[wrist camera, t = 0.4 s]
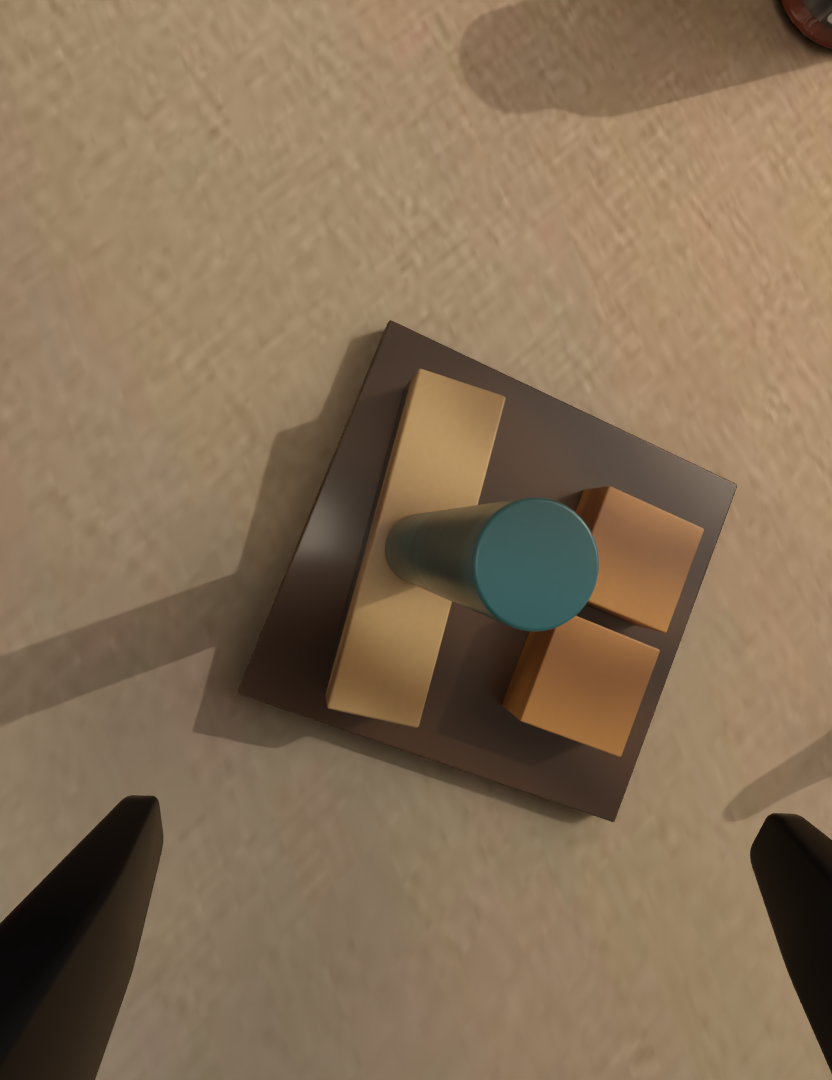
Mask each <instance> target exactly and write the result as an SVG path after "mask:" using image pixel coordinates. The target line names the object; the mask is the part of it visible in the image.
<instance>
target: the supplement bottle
mask: <svg viewBox="0 0 832 1080" xmlns="http://www.w3.org/2000/svg"><path fill="white" fill-rule="evenodd" d="M781 1H782V3H783V6H784V9H785V10H786V13H787V15H788V16H789V17H790V18H791V20H792V23H793V24H794V25H795V26H796V27H797V28H798V29H799V30H800V31H801V32H802V33H803V34H804V35H805V36H807V37H808V38H809V39H811V40H812V41H814V42H816V43H817V44H819V45H822V46H824V47H826V48H830V49H832V0H781Z"/></svg>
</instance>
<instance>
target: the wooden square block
mask: <svg viewBox="0 0 832 1080" xmlns="http://www.w3.org/2000/svg"><path fill="white" fill-rule="evenodd" d="M576 513H577V514H578V515H579V516H580V517H581V518H582V519H583V521H584V522H585V523H586V524H587V526H588V528H589V529H590V531H591V533H592V535H593V537H594V539H595V543H596V546H597V550H598V557H599V570H598V577H597V582H596V585H595V588H594V591H593V593H592V595H591V597H590V599H589V600H588V602H587V603H586V605H587V606H590V607H592V608H595V609H597V610H600V611H602V612H604V613H607V614H609V615H612V616H614V617H617V618H619V619H621V620H624V621H626V622H629V623H631V624H634V625H636V626H640V627H643V628H647V629H651V630H654V631H658V632H662V633H666V632H667V629H668V627H669V624H670V621H671V619H672V616H673V613H674V610H675V608H676V605H677V602H678V600H679V597H680V594H681V591H682V589H683V586H684V583H685V581H686V578H687V575H688V572H689V570H690V567H691V564H692V562H693V559H694V556H695V553H696V551H697V548H698V545H699V543H700V540H701V537H702V534H703V532H704V529H703V528H702V527H699V526H697V525H695V524H693V523H691V522H688V521H686V520H684V519H682V518H680V517H677V516H675V515H673V514H671V513H668V512H666V511H664V510H662V509H660V508H657V507H655V506H653V505H651V504H649V503H646V502H644V501H642V500H640V499H638V498H635V497H633V496H631V495H629V494H627V493H624V492H622V491H620V490H618V489H616V488H613V487H611V486H606V487H599V488H592V489H585V490H584V491H583V493H582V496H581V499H580V501H579V504H578V507H577V509H576Z"/></svg>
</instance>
